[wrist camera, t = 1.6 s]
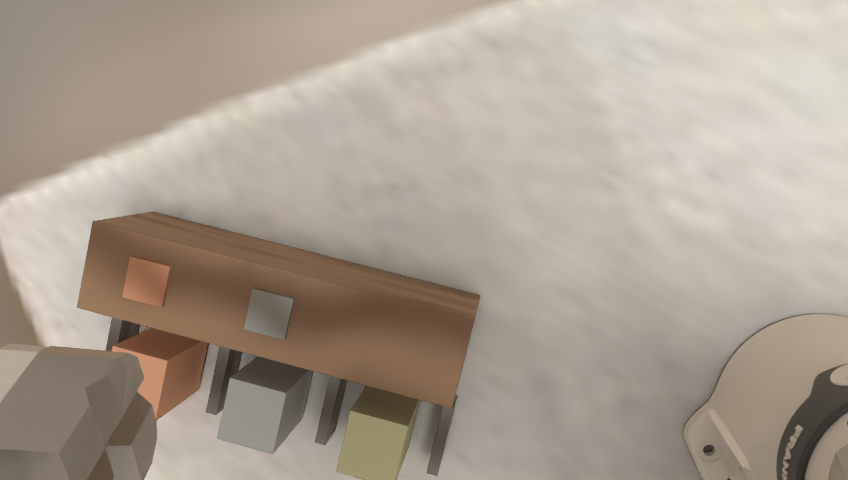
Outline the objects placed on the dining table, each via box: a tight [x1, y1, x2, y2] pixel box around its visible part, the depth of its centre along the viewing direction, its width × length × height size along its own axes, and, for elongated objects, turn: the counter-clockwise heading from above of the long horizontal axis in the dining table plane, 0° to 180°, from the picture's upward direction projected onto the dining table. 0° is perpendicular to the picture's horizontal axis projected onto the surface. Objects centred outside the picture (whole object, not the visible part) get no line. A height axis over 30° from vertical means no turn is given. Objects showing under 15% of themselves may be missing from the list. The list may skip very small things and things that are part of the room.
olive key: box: [336, 386, 420, 480], centre depth 58 cm, size 4×4×8 cm
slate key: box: [217, 356, 313, 454], centre depth 59 cm, size 4×4×8 cm
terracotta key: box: [112, 328, 208, 420], centre depth 60 cm, size 4×4×8 cm
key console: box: [77, 212, 480, 476], centre depth 58 cm, size 13×26×9 cm, turn 76°
